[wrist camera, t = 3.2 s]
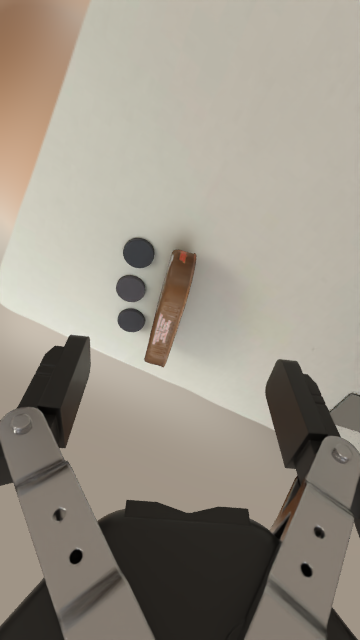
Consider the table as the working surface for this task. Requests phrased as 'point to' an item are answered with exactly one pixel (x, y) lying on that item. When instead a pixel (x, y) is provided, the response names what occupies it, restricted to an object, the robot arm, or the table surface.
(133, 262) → the dark grey disc
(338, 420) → the smartphone
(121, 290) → the dark grey disc
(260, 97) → the table surface
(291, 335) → the table surface
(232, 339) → the table surface
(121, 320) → the dark grey disc
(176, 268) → the tin
